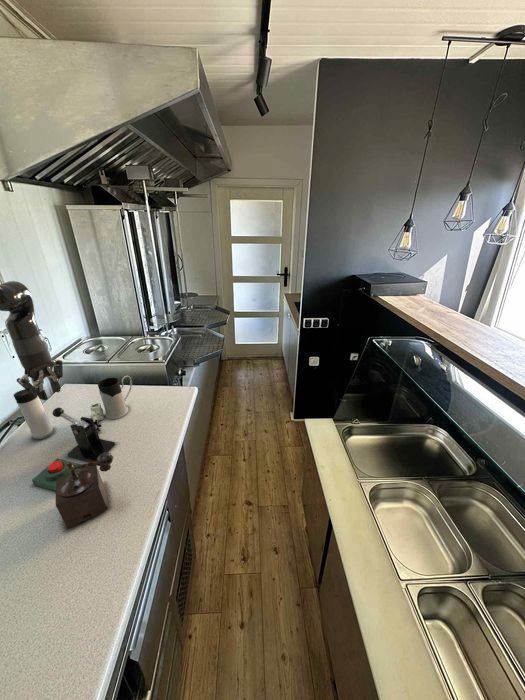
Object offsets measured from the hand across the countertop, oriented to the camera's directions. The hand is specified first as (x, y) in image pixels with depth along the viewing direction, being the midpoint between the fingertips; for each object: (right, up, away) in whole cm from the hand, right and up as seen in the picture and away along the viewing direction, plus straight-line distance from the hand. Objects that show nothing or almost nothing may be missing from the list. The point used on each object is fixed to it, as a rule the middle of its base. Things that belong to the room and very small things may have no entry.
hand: (51, 395), depth 94 cm
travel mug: (-14, -18, +16) cm, 28 cm away
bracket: (+9, -21, +7) cm, 24 cm away
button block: (+5, -26, -3) cm, 27 cm away
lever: (+4, -10, +4) cm, 11 cm away
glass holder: (+10, -11, +29) cm, 32 cm away
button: (+5, -23, -4) cm, 24 cm away
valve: (+4, -15, +20) cm, 25 cm away
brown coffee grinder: (+21, -30, -11) cm, 38 cm away
